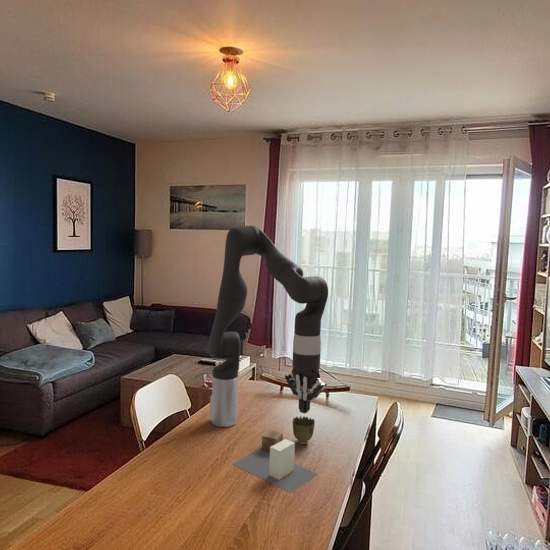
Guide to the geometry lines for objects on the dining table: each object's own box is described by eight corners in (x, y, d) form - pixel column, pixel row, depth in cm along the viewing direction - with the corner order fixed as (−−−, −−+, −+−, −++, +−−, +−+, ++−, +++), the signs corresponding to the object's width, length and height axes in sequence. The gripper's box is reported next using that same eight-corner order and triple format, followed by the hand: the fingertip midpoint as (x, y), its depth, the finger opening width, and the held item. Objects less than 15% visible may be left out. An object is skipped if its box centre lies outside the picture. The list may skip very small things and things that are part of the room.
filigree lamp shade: (312, 450, 146) (313, 426, 146) (289, 447, 148) (290, 423, 147) (315, 440, 154) (316, 417, 153) (293, 437, 155) (294, 414, 154)
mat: (232, 465, 135) (232, 464, 135) (261, 450, 145) (261, 449, 145) (290, 494, 121) (290, 492, 121) (318, 475, 131) (318, 473, 131)
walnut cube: (261, 450, 145) (262, 435, 145) (268, 444, 150) (268, 429, 149) (275, 454, 143) (276, 439, 143) (282, 447, 147) (282, 433, 147)
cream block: (269, 475, 129) (270, 447, 129) (284, 466, 135) (285, 439, 134) (278, 480, 127) (279, 451, 126) (293, 470, 132) (294, 442, 132)
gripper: (278, 348, 124) (276, 409, 126) (319, 357, 116) (316, 423, 118) (295, 343, 130) (293, 402, 132) (334, 352, 122) (332, 415, 123)
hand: (304, 412), depth 125 cm, fingers closed
